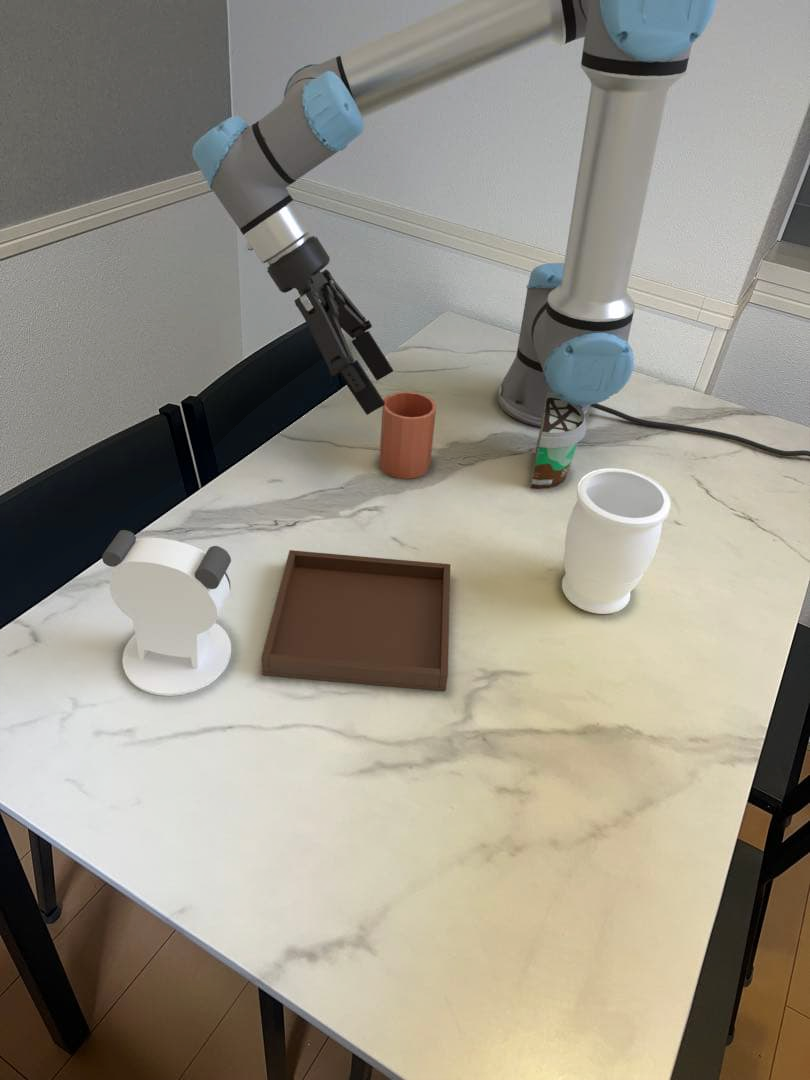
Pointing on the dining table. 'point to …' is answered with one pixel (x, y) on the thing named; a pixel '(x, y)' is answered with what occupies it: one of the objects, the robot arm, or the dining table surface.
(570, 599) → the jar
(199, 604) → the panda figurine
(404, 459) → the cup
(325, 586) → the tray
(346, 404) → the dining table surface
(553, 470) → the food container
